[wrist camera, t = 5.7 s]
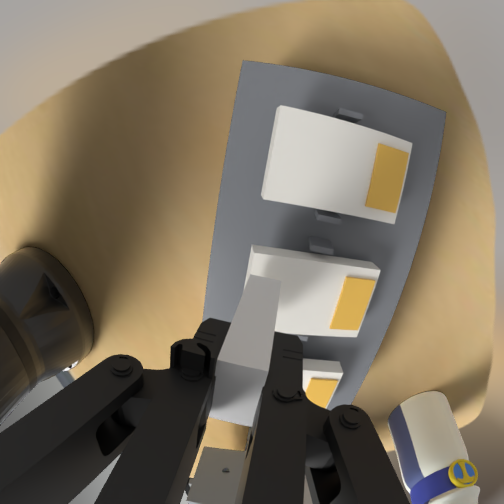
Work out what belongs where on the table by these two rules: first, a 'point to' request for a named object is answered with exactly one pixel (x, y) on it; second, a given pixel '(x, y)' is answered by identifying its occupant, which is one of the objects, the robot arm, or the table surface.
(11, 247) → the table surface
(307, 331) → the block
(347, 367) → the panel
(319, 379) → the rocker
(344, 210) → the rocker
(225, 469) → the circuit breaker
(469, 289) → the table surface
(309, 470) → the robot arm
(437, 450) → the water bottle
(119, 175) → the table surface
